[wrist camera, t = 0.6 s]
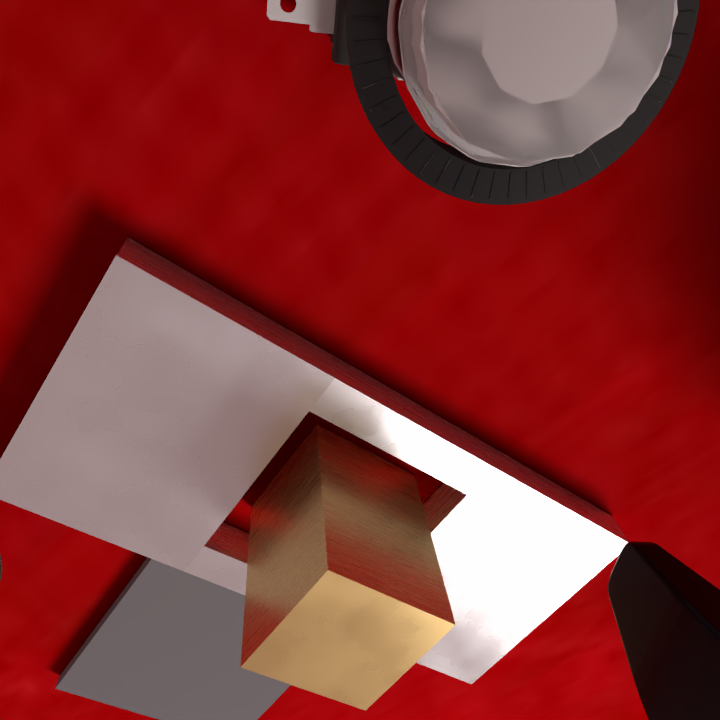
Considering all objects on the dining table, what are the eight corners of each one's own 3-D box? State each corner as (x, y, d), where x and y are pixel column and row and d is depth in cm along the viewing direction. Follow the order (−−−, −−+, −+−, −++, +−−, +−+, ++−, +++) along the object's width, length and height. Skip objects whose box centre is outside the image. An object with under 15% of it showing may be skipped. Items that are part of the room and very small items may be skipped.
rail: (612, 516, 27) (630, 543, 26) (463, 653, 31) (471, 684, 29) (128, 237, 20) (116, 255, 18) (0, 462, 23) (-19, 491, 22)
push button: (264, 105, 18) (245, 200, 9) (273, -128, 16) (259, -294, 7) (491, 129, 19) (664, 234, 10) (535, -88, 17) (812, -189, 8)
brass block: (414, 474, 25) (455, 625, 19) (347, 549, 27) (365, 710, 21) (316, 423, 24) (327, 570, 17) (251, 506, 25) (240, 667, 19)
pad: (339, 621, 29) (340, 632, 28) (236, 730, 32) (235, 742, 31) (154, 547, 26) (151, 558, 25) (59, 676, 29) (55, 688, 28)
